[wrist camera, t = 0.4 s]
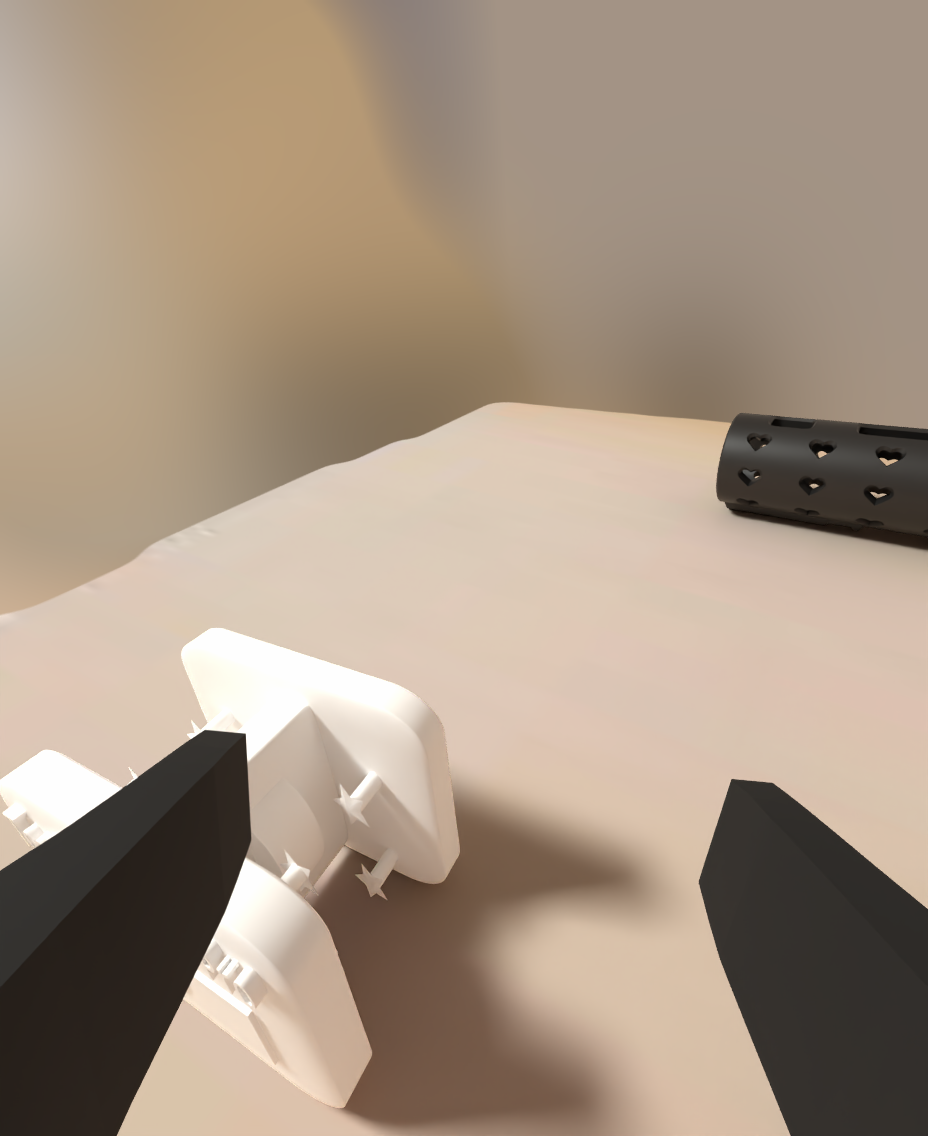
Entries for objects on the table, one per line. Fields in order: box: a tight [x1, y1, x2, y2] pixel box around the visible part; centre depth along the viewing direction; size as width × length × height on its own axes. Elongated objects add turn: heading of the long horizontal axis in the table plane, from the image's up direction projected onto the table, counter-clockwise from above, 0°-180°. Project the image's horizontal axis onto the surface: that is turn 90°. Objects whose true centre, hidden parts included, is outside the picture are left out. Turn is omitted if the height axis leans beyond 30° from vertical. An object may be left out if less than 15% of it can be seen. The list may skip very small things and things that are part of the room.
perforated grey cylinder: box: [716, 413, 928, 537], centre depth 51 cm, size 10×28×10 cm, turn 53°
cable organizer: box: [0, 628, 460, 1108], centre depth 24 cm, size 15×11×12 cm
